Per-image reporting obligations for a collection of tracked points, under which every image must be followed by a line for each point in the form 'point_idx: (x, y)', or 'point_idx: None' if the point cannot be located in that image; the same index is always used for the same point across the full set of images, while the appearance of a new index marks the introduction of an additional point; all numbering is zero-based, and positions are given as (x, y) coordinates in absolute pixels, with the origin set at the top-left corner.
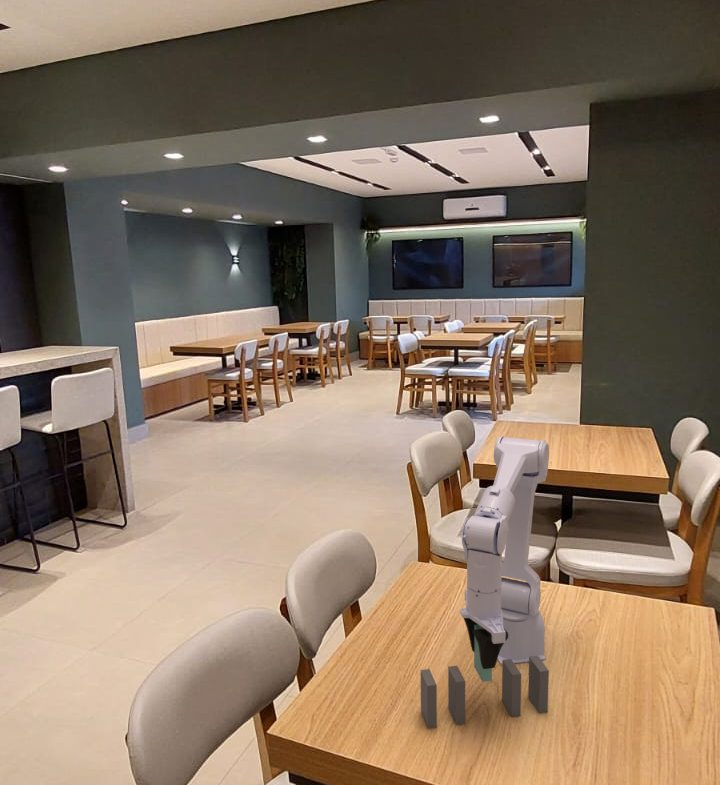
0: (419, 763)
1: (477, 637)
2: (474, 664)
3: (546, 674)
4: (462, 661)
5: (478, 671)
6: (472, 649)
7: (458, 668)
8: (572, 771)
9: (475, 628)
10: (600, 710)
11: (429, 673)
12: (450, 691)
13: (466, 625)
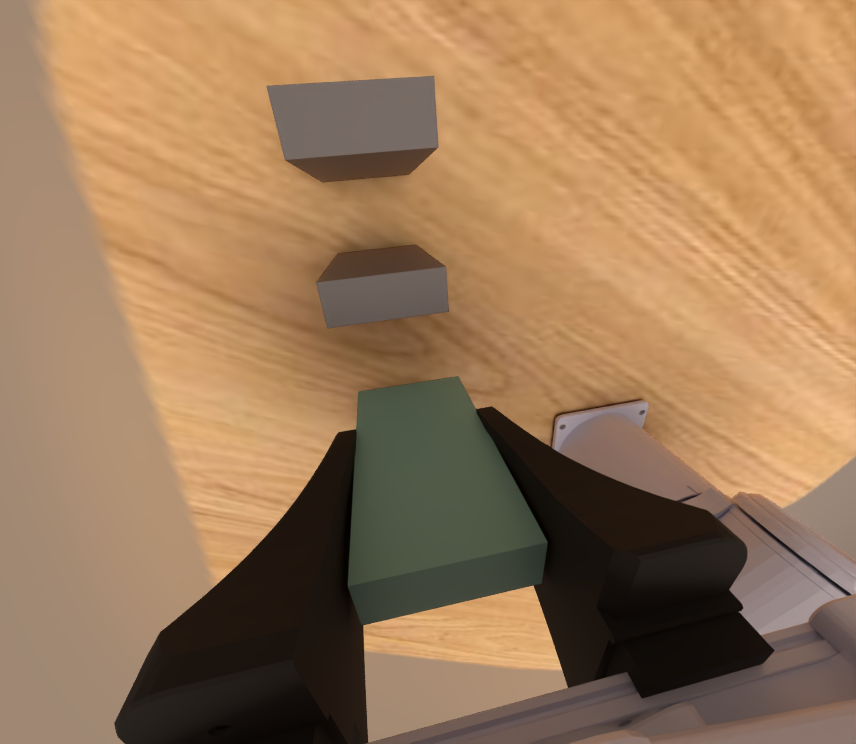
0: (125, 63)
1: (143, 683)
2: (456, 382)
3: None
4: (603, 327)
5: (409, 390)
6: (485, 411)
7: (426, 314)
8: (202, 482)
9: (516, 533)
10: None
11: (395, 136)
12: (400, 256)
13: (587, 474)
